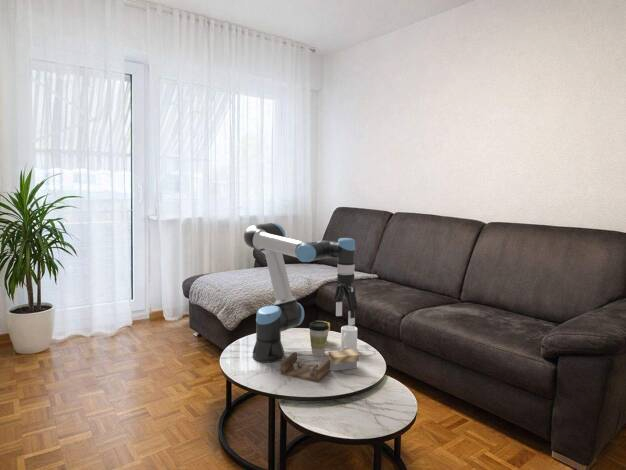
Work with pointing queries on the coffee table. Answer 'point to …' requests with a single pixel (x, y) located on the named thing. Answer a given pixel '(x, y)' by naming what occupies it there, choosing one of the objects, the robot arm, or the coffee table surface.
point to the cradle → (304, 369)
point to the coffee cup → (318, 337)
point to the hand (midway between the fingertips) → (344, 320)
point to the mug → (349, 338)
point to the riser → (342, 366)
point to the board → (343, 356)
